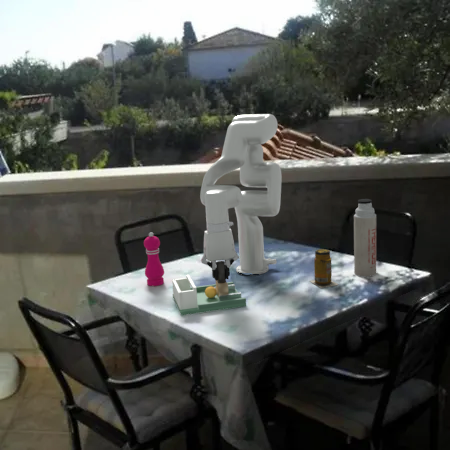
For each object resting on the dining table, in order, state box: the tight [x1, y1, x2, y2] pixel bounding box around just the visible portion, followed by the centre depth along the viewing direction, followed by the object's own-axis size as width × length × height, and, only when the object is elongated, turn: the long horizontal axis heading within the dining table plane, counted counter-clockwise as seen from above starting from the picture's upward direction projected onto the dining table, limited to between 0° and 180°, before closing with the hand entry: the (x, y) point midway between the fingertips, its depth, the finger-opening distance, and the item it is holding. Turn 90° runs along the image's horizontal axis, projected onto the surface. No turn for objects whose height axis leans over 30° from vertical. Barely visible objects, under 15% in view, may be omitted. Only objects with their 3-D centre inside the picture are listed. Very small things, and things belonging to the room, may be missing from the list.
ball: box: [205, 286, 217, 298], centre depth 217 cm, size 4×4×4 cm
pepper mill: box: [143, 232, 165, 287], centre depth 236 cm, size 7×7×20 cm
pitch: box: [172, 281, 247, 316], centre depth 217 cm, size 22×18×3 cm
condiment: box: [309, 248, 339, 289], centre depth 227 cm, size 7×8×12 cm
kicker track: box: [214, 284, 242, 301], centre depth 218 cm, size 8×10×2 cm
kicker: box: [215, 260, 228, 296], centre depth 217 cm, size 3×6×12 cm, turn 13°
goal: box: [171, 274, 198, 310], centre depth 215 cm, size 6×14×7 cm, turn 13°
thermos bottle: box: [353, 198, 377, 278], centre depth 232 cm, size 8×8×28 cm
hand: (221, 278), depth 216 cm, fingers closed on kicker, 3 cm apart
